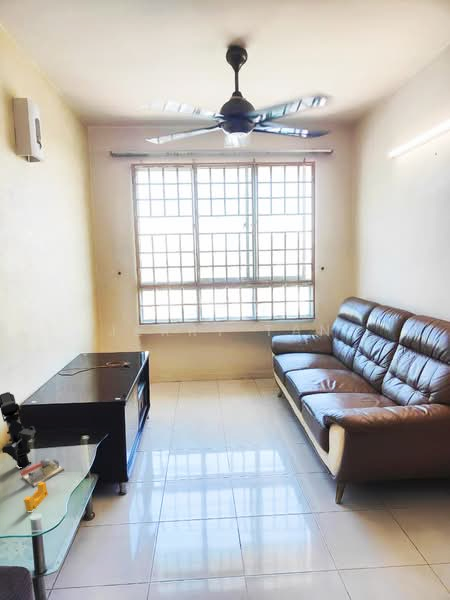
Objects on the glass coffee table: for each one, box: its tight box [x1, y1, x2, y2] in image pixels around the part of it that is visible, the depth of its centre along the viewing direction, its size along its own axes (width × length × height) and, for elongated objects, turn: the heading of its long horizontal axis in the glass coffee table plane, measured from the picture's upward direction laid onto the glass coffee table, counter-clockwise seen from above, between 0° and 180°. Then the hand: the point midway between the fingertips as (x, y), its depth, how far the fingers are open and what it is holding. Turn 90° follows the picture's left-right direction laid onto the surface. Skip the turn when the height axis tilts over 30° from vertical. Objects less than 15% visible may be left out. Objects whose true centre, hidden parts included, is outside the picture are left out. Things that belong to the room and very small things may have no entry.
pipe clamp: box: [23, 481, 49, 512], centre depth 171 cm, size 12×4×6 cm, turn 173°
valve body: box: [28, 458, 60, 482], centre depth 194 cm, size 6×14×4 cm, turn 139°
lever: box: [19, 457, 50, 477], centre depth 191 cm, size 14×4×2 cm, turn 132°
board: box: [21, 459, 65, 488], centre depth 196 cm, size 16×15×1 cm
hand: (21, 455), depth 194 cm, fingers open, 9 cm apart
